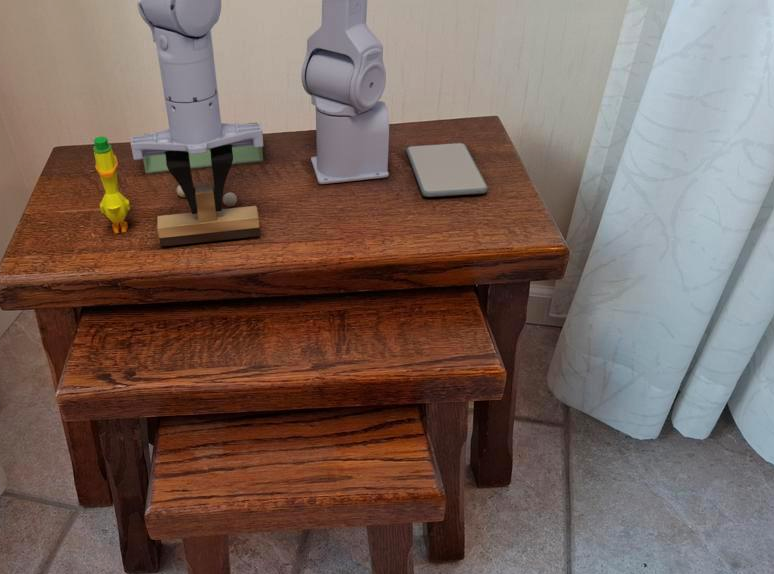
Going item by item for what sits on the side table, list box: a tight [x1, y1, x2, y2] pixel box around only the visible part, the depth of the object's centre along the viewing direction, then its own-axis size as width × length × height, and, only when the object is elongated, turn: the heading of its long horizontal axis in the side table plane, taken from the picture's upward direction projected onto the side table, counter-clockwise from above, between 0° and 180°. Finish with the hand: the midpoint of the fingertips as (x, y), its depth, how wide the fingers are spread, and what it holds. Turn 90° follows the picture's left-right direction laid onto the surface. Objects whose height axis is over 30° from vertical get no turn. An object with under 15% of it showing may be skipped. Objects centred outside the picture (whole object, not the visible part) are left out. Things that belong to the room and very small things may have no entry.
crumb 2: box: [222, 192, 238, 208], centre depth 99 cm, size 2×2×2 cm
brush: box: [156, 183, 261, 247], centre depth 91 cm, size 12×3×6 cm, turn 96°
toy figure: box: [92, 136, 131, 234], centre depth 93 cm, size 7×4×12 cm, turn 9°
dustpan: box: [142, 122, 264, 174], centre depth 111 cm, size 10×17×3 cm, turn 96°
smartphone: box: [405, 142, 489, 198], centre depth 102 cm, size 8×1×15 cm
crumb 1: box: [176, 184, 186, 199], centre depth 102 cm, size 2×2×2 cm
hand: (206, 208), depth 91 cm, fingers closed on brush, 2 cm apart
